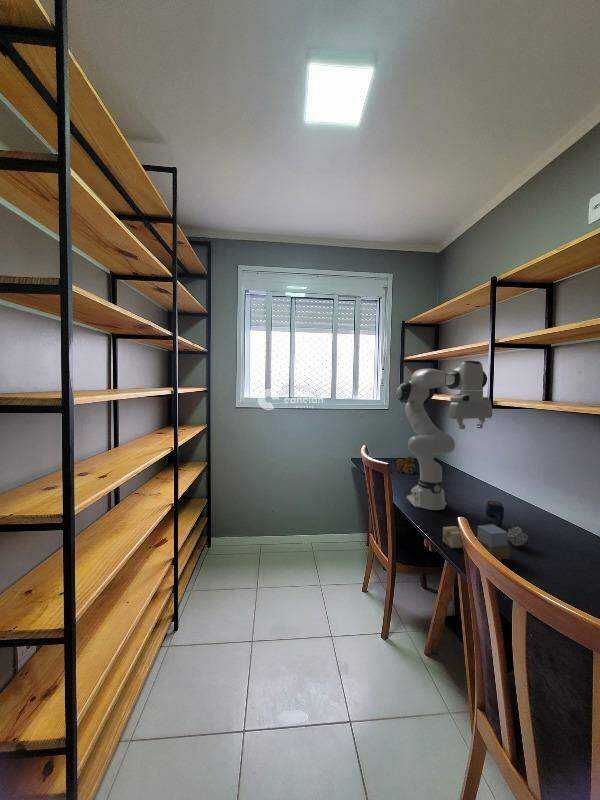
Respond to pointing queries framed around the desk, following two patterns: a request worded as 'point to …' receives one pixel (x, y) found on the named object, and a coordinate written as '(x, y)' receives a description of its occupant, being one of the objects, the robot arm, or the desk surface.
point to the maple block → (452, 537)
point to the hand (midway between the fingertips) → (470, 428)
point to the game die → (517, 536)
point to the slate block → (492, 535)
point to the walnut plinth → (498, 551)
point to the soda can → (494, 514)
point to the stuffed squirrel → (405, 464)
